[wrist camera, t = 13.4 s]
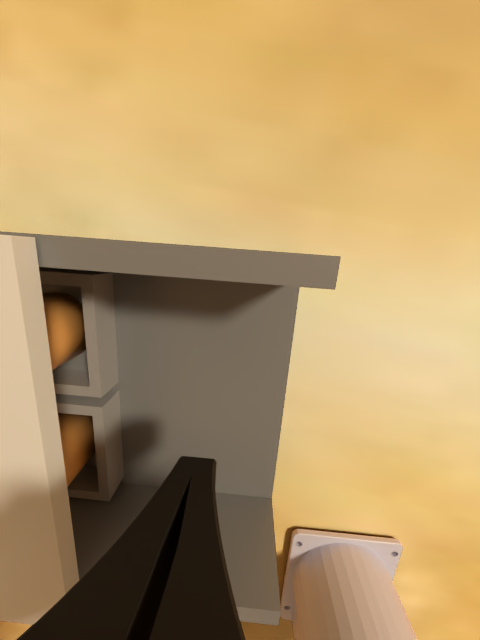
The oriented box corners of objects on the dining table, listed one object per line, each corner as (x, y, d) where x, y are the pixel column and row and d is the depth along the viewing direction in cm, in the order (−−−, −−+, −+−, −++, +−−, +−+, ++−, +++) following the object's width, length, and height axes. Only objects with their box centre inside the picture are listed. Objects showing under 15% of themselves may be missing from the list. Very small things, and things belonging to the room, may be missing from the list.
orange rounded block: (104, 459, 17) (45, 541, 12) (46, 454, 17) (-36, 533, 12) (100, 407, 16) (33, 474, 11) (38, 402, 16) (-55, 465, 11)
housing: (269, 495, 18) (278, 625, 12) (29, 471, 19) (-87, 584, 12) (299, 256, 14) (340, 256, 8) (-13, 233, 14) (-223, 214, 8)
